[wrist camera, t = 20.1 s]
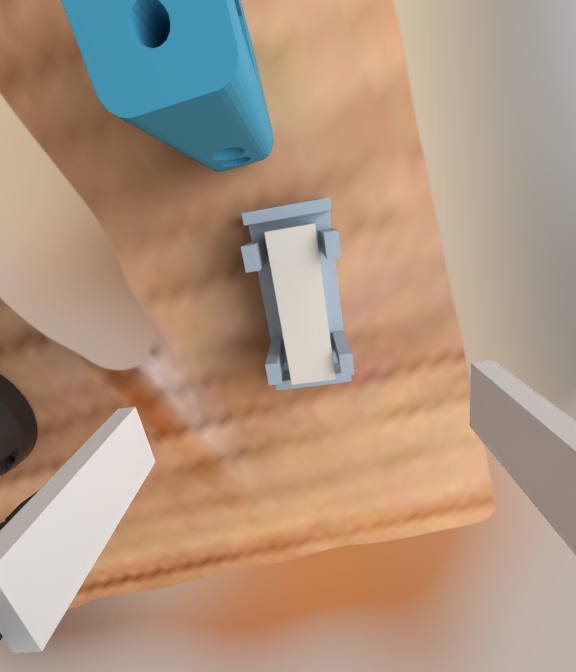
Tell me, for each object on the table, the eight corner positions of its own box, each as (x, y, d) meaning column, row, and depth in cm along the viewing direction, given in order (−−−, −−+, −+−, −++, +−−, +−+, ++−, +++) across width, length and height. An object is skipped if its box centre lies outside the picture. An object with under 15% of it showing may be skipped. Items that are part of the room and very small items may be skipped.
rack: (346, 366, 36) (357, 399, 29) (278, 375, 37) (274, 409, 30) (327, 199, 30) (334, 194, 24) (247, 213, 31) (233, 212, 24)
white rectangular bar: (330, 357, 34) (335, 379, 30) (293, 362, 35) (291, 384, 30) (312, 222, 30) (315, 223, 25) (269, 230, 30) (264, 232, 26)
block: (280, 169, 30) (245, 81, 11) (228, 183, 30) (107, 125, 11) (242, 4, 26) (87, -570, 7) (183, 25, 26) (-108, -456, 8)
